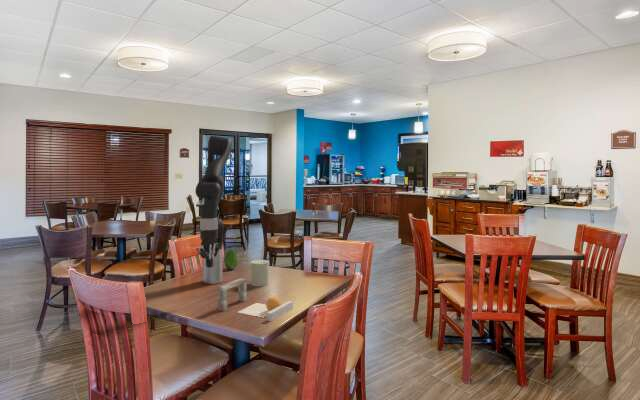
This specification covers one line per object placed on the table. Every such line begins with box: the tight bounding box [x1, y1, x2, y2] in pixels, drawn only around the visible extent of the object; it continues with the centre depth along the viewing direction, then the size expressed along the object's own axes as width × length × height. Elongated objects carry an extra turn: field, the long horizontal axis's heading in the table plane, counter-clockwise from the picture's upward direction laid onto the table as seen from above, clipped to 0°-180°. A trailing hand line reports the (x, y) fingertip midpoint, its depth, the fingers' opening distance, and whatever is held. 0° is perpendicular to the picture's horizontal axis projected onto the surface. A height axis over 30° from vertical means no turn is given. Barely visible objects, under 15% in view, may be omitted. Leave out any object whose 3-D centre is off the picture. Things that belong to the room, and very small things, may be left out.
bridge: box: [217, 277, 248, 312], centre depth 167 cm, size 3×15×10 cm, turn 153°
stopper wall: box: [266, 300, 294, 322], centre depth 156 cm, size 2×16×3 cm, turn 153°
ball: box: [265, 296, 282, 311], centre depth 159 cm, size 6×6×6 cm
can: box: [250, 259, 270, 287], centre depth 199 cm, size 9×9×12 cm
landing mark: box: [236, 302, 269, 319], centre depth 161 cm, size 13×13×1 cm
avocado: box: [223, 248, 239, 270], centre depth 231 cm, size 8×8×12 cm
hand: (209, 267), depth 172 cm, fingers closed
